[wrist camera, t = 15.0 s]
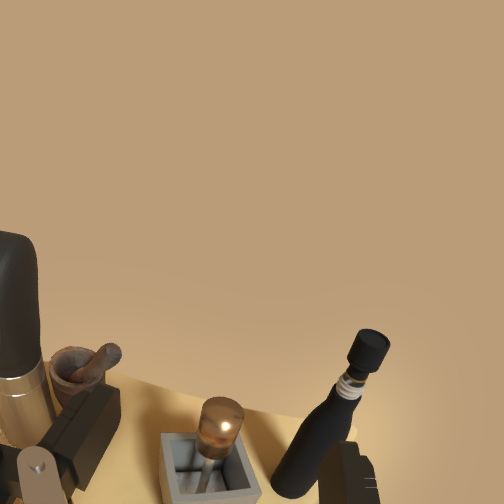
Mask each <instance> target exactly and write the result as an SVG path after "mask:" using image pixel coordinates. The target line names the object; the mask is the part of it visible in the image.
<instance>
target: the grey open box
mask: <svg viewBox="0 0 504 504" xmlns="http://www.w3.org/2000/svg"><path fill="white" fill-rule="evenodd" d="M196 436H197V433H161V434H160V453H159V482H160V488H161V493H162V499H163V504H256V502H257V501H258V499H259V498H260V496H261V495H262V492H261V489H260V487H259V484H258V482H257V479H256V476H255V474H254V471H253V469H252V466H251V463H250V461H249V458H248V455H247V453H246V450H245V447H244V445H243V442H242V439H241V436H240V434H239V433H238V436H237V439H236V441H235V444H234V447H233V450H232V452H231V454H230V455H229V456H228V457H227V458H225V459H222V460H215V463H214V466H213V469H212V471H213V470H220V471H221V474H222V477H223V481H224V484H225V487H226V490H227V491H223V492H212V493H200V494H181V495H180V492H179V487H178V482H177V477H176V472H198V471H202V467H203V463H204V459H205V457H203V456H202V455H201V454H200V453H199V452H198V451H197V449H196V447H195V441H196Z"/></svg>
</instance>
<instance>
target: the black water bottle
mask: <svg viewBox="0 0 504 504" xmlns="http://www.w3.org/2000/svg"><path fill="white" fill-rule="evenodd" d="M389 348H390V341H389V340H388V338H387V337H386V336H384V335H383V334H382V333H380V332H378V331H375V330H372V329H362V330H360V331H359V332H358V333H357V336H356V338H355V340H354V342H353V345H352V347H351V349H350V351H349V354H348V355H347V360H348V362H349V363H350V365H349V367H348V368H347V370H346V372H345V373H343V374H342V375H341V376H340V377H339V380H338V381H337V383H336V384H334V386H333V387H332V389H331V391H330V393H329V396H328V397H327V399H326V400H325V401H324V402H323V403H321V404H320V405H319V406H318V407H316V408H315V409H314V410H313V411H312V412H311V413H310V414H309V415H308V417H307V418H306V419H305V420H304V421H303V423H302V424H301V426H300V428H299V430H298V431H297V433H296V435H295V437H294V439H293V441H292V442H291V444H290V446H289V448H288V450H287V451H286V453H285V455H284V457H283V458H282V460H281V462H280V463H279V465H278V467H277V469H276V470H275V472H274V474H273V475H272V478H271V485H272V487H273V489H274V491H275V492H276V493H277V494H279V495H280V496H282V497H285V498H289V499H296V498H300V497H302V496H303V495H305V494H306V493H307V492H308V491H309V489H310V488H311V487H312V486H313V485H314V483H315V482H316V481H317V480H318V469H319V466H320V463H321V461H322V460H323V458H324V457H325V455H326V454H327V453H328V451H329V450H330V448H331V447H332V445H333V444H334V442H335V441H337V440H339V441H346V439H347V436H348V434H349V431H350V428H351V422H352V415H353V411H354V410H355V408H356V406H357V405H358V403H359V401H360V400H361V397H362V392H363V391H364V389H365V385H366V380H367V378H368V375H369V373H373V372H376V371H377V370H378V369H379V367H380V365H381V363H382V361H383V359H384V357H385V355H386V354H387V352H388V350H389Z"/></svg>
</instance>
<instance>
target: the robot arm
mask: <svg viewBox="0 0 504 504" xmlns="http://www.w3.org/2000/svg"><path fill="white" fill-rule="evenodd" d="M120 419H121V406H120V390H119V389H118V388H115V387H113V386H110V385H107V384H105V383H102V382H99V383H98V384H97V385H96V386H95V388H94V389H93V391H92V392H89V391H86V390H82V391H81V392H79V393H77V394H75V395H74V396H73V397H72V398H71V399H70V401H69V402H68V403H67V405H66V407H64V409H63V410H62V411H61V413H60V415H59V416H58V417H57V416H56V413H55V409H54V405H53V401H52V398H51V394H50V390H49V385H48V381H47V377H46V372H45V367H44V363H43V357H42V352H41V347H40V318H39V302H38V267H37V257H36V252H35V249H34V246H33V244H32V242H31V241H30V239H29V238H27V237H26V236H23V235H20V234H16V233H10V232H5V231H0V426H1V428H2V430H3V432H4V434H5V436H6V438H7V440H8V442H10V443H13V444H15V445H16V446H17V447H18V448H19V449H17V448H13V447H9V446H6V445H3V444H0V504H13V503H14V501H15V499H16V497H18V498H21V499H23V502H24V504H74V502H73V499H72V494H73V492H74V490H75V488H78V489H80V490H82V491H84V492H85V490H86V488H87V486H88V484H89V482H90V480H91V478H92V476H93V474H94V472H95V470H96V468H97V466H98V464H99V462H100V460H101V459H102V457H103V455H104V453H105V451H106V449H107V447H108V445H109V443H110V441H111V440H112V438H113V436H114V434H115V432H116V430H117V428H118V426H119V423H120ZM318 488H319V504H380V499H379V494H378V489H377V483H376V480H375V473H374V468H373V465H372V464H371V462H370V461H369V459H368V458H367V456H362V455H361V456H360V453H359V448H358V444H357V443H356V442H351V441H339V440H337V441H335V442H334V444H333V445H332V447H331V448H330V450H329V451H328V453H327V454H326V455H325V457H324V458H323V460H322V461H321V463H320V466H319V469H318Z"/></svg>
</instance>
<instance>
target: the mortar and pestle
mask: <svg viewBox="0 0 504 504" xmlns="http://www.w3.org/2000/svg"><path fill="white" fill-rule="evenodd" d="M121 356H122V353H121V349H120V347H119V346H118V345H116V344H114V343H107V344H105V345H103V346H102V347H101V348H100V349H99V350H98V351H97V352H96V353H95V352H94V351H92V350H89V349H86V348H82V347H72V346H69V347H66V348H64V349H61V350H59V351H57V352H56V353H55V354H54V355H53V356H52V357H51V360H50V362H49V373H50V378H51V382H52V386H53V390H54V393H55V396H56V398H57V400H58V401H59V403H60V405H61V406H62V407H63V409H64V407H66V405H67V403H68V402H69V401H70V399H71V398H72V397H73V396H74V395H75V394H77V393H79V392H81V391H82V390H86V391H89V392H92V391H93V389H94V388H95V386H96V385H97V384H98V383H99V382H102V383H105V371H106V370H109V369H110V368H112V367H113V366H115V365H116V364H117V363H118V362H119V361H120V359H121Z"/></svg>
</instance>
